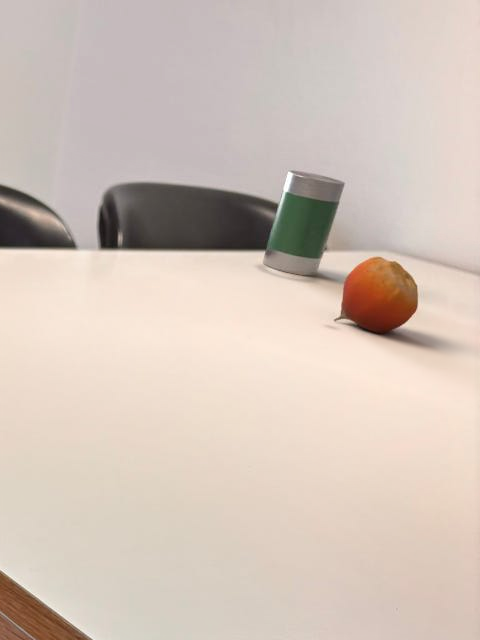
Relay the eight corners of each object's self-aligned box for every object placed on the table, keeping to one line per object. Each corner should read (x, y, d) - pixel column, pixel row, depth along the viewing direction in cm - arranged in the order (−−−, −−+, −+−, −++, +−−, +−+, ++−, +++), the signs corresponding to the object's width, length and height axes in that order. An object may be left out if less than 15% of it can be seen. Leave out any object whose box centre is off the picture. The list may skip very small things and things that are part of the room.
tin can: (318, 270, 140) (346, 181, 134) (314, 279, 134) (344, 186, 128) (265, 257, 141) (290, 168, 135) (259, 265, 135) (285, 172, 129)
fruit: (331, 294, 119) (389, 240, 114) (377, 348, 118) (437, 296, 114) (311, 303, 113) (371, 246, 108) (360, 360, 112) (423, 305, 107)
